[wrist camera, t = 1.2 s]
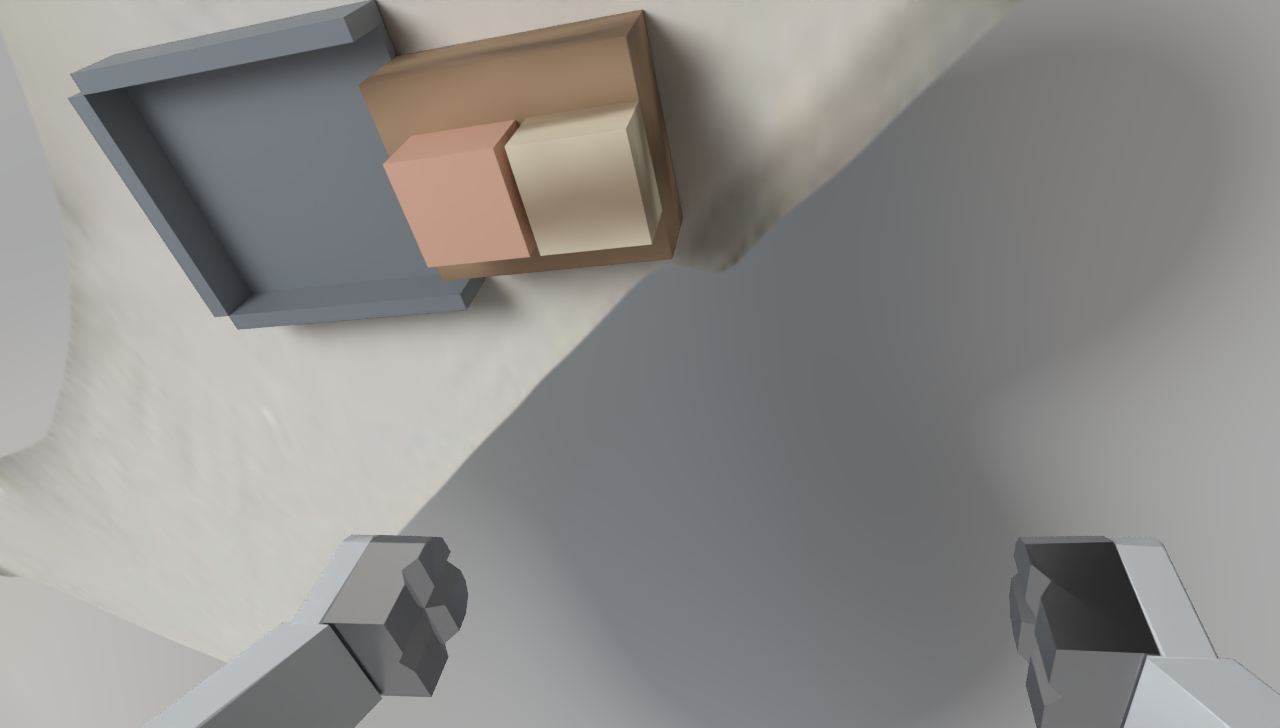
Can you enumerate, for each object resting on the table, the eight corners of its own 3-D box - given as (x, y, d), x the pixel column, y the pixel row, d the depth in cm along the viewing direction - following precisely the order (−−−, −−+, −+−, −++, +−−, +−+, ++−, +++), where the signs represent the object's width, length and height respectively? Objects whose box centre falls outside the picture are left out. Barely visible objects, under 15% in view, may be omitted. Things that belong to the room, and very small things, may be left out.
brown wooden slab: (396, 55, 35) (357, 84, 32) (642, 9, 32) (625, 36, 29) (469, 241, 41) (442, 281, 38) (682, 217, 38) (672, 258, 35)
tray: (99, 57, 38) (53, 77, 35) (374, -1, 34) (343, 17, 31) (252, 302, 47) (223, 330, 44) (484, 279, 42) (466, 309, 40)
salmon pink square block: (411, 135, 33) (382, 164, 31) (515, 120, 32) (492, 148, 29) (451, 234, 36) (428, 267, 34) (548, 223, 35) (529, 257, 32)
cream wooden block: (525, 118, 32) (504, 146, 29) (639, 100, 30) (625, 128, 28) (557, 222, 35) (540, 255, 32) (662, 210, 33) (651, 244, 31)
